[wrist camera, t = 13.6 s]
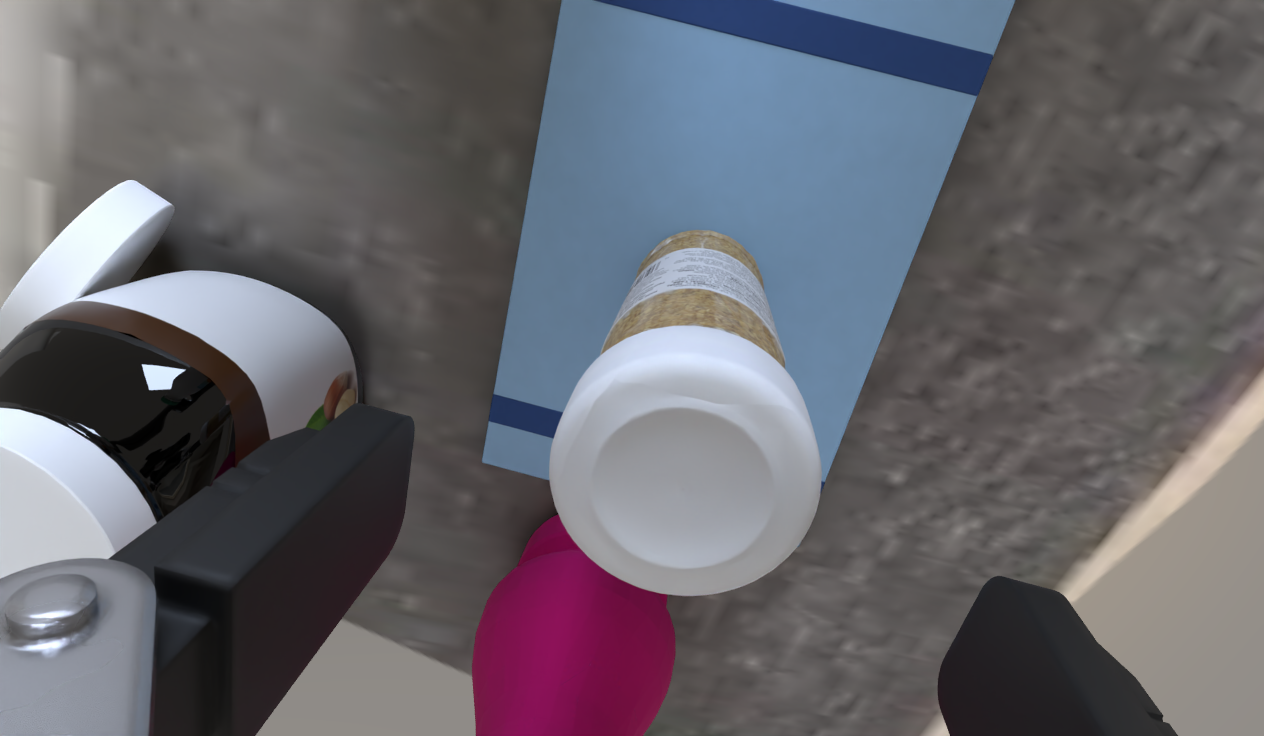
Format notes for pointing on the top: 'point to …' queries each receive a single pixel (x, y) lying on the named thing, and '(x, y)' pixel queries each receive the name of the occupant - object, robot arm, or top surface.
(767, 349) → the sprinkles bottle
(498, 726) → the pepper mill
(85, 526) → the spread jar
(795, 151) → the towel
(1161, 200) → the top surface
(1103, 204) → the top surface
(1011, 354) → the top surface
